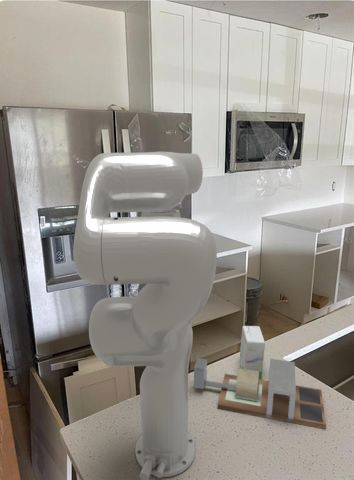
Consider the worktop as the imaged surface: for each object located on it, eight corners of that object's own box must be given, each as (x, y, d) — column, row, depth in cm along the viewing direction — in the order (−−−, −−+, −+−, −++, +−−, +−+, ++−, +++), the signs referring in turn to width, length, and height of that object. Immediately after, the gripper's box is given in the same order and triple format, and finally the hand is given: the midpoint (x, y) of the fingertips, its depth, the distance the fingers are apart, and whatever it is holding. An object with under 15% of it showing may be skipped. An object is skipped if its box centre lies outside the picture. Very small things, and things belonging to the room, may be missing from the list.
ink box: (239, 361, 107) (240, 324, 104) (257, 361, 107) (259, 325, 104) (243, 380, 99) (245, 341, 96) (263, 380, 99) (265, 341, 95)
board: (325, 429, 83) (326, 424, 82) (217, 408, 89) (217, 404, 89) (320, 393, 94) (321, 389, 93) (224, 377, 100) (225, 373, 100)
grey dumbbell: (257, 401, 89) (258, 380, 87) (193, 389, 93) (193, 369, 91) (259, 385, 95) (260, 365, 93) (198, 375, 99) (198, 355, 97)
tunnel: (293, 422, 85) (295, 393, 82) (266, 417, 86) (268, 389, 84) (292, 388, 96) (294, 362, 93) (268, 384, 97) (270, 358, 95)
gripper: (199, 204, 89) (198, 270, 94) (132, 200, 94) (135, 264, 99) (191, 210, 82) (191, 281, 87) (120, 206, 87) (124, 274, 92)
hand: (161, 272), depth 93 cm, fingers open, 9 cm apart
